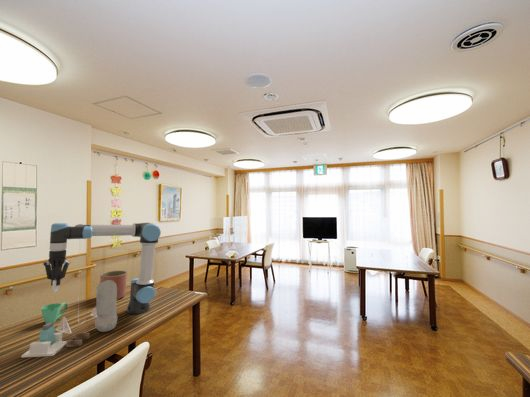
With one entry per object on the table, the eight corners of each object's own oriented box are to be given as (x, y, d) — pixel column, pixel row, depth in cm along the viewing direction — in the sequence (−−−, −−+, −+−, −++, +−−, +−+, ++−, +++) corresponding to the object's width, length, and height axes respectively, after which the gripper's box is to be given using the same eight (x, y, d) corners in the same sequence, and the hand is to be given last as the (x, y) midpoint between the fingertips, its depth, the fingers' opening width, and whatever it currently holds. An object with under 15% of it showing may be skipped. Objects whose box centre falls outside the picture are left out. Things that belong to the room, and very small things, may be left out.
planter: (106, 293, 208) (108, 270, 209) (129, 293, 210) (131, 270, 211) (93, 302, 190) (95, 276, 190) (119, 302, 192) (120, 276, 192)
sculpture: (123, 326, 154) (126, 278, 155) (109, 335, 142) (112, 284, 144) (101, 324, 156) (104, 277, 157) (86, 333, 144) (89, 282, 145)
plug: (53, 344, 130) (55, 321, 130) (46, 350, 125) (48, 326, 125) (46, 344, 129) (47, 322, 130) (38, 350, 124) (40, 326, 125)
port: (68, 342, 134) (69, 331, 134) (52, 355, 122) (53, 343, 122) (39, 344, 132) (40, 332, 132) (21, 357, 120) (22, 345, 120)
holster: (89, 337, 139) (89, 332, 140) (80, 346, 131) (80, 340, 131) (76, 338, 138) (76, 333, 138) (66, 347, 130) (66, 341, 130)
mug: (48, 326, 150) (49, 310, 151) (36, 324, 152) (37, 308, 153) (71, 316, 165) (72, 301, 165) (60, 314, 167) (61, 300, 167)
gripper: (74, 248, 145) (71, 288, 144) (50, 248, 143) (47, 289, 142) (66, 251, 137) (63, 293, 136) (40, 251, 135) (37, 293, 134)
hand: (55, 291), depth 139 cm, fingers closed
